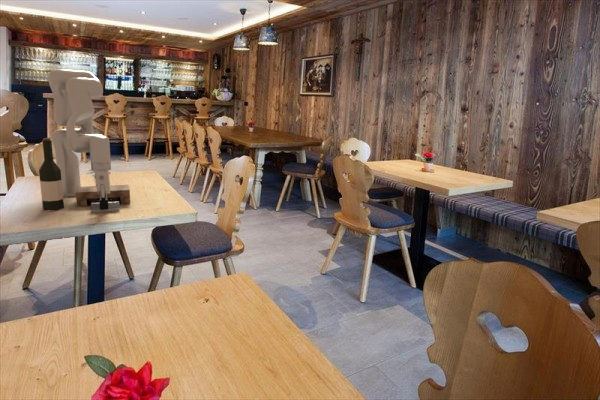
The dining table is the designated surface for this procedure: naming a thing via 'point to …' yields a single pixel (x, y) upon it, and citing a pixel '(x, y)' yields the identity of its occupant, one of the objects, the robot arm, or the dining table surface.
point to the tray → (112, 206)
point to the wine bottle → (50, 180)
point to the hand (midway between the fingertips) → (104, 209)
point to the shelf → (91, 195)
